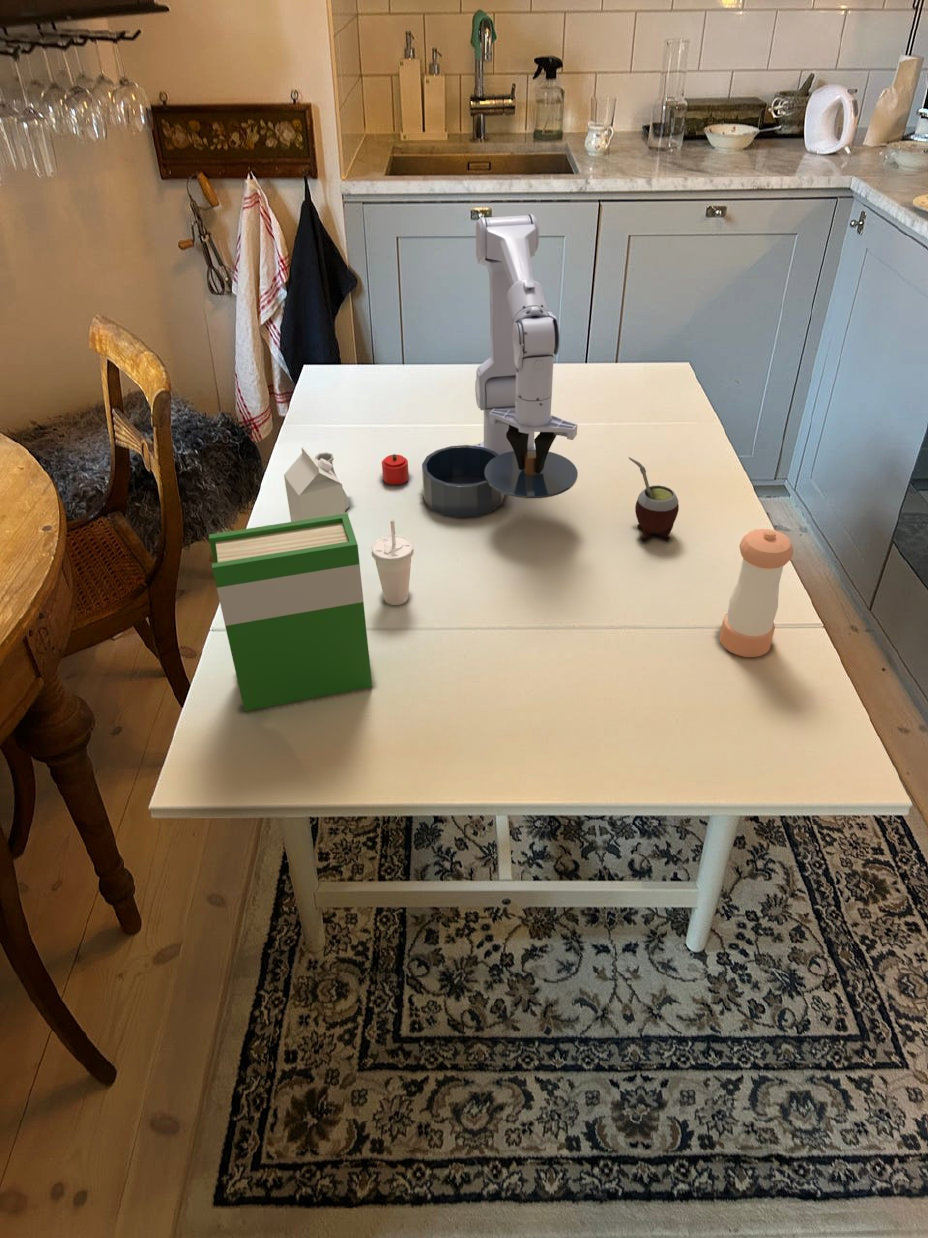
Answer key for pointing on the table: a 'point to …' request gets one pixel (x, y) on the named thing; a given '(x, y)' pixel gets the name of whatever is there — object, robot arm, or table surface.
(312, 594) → the hardback book
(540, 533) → the table surface
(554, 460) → the lid
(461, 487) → the pot
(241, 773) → the table surface
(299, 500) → the milk carton
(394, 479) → the red pepper
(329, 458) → the flask
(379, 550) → the smoothie
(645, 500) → the mate gourd
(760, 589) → the pepper shaker
